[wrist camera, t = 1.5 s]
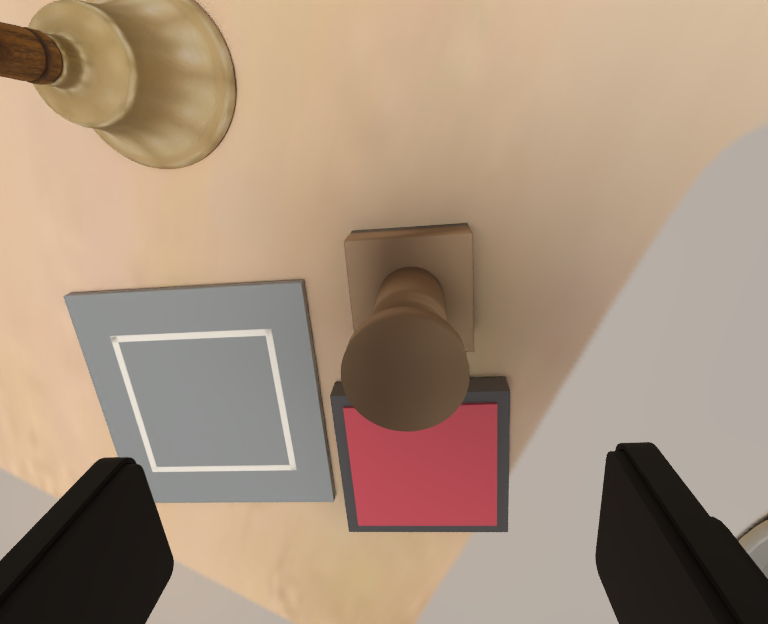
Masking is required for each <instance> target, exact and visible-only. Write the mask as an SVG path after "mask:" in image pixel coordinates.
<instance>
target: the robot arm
mask: <svg viewBox="0 0 768 624" xmlns="http://www.w3.org/2000/svg"><path fill="white" fill-rule="evenodd" d="M596 565H597V570H598V574H599V576H600V579H601V581H602V584H603V586H604V589H605V591H606V594H607V596H608V598H609V601H610V603H611V606H612V608H613V610H614V613H615V615H616V617H617V620H618V622H619V624H768V519H767V520H765V521H764V522H762V523H760V524H759V525H757V526H755V527H754V528H753V529H752V530H750V531H749V532H748V533H747V534H745V535H744V536H743V537H742V538H741V539H740V540H739V541H738V540H737V539H736V538H735V537H734V536H733V534H732V533H731V532H730V530H729V529H728V528H727V527H726V526H725V525H724V524H723V523H722V522H721V521H720V520H718V519H716V518H714V517H710V516H709V515H708V513H707V512H706V511H705V509H704V508H703V507H702V505H701V504H700V503H699V502H698V500H697V499H696V498H695V496H694V495H693V494H692V492H691V491H690V490H689V488H688V487H687V486H686V485H685V483H684V482H683V481H682V479H681V478H680V477H679V475H678V474H677V473H676V472H675V470H674V469H673V468H672V466H671V465H670V464H669V462H668V461H667V460H666V459H665V457H664V456H663V455H662V453H661V452H660V451H659V449H658V448H657V447H656V446H655V445H654V444H653V443H649V442H646V443H620V444H618V445H617V447H616V450H615V451H613V452H612V451H610V452H608V454H607V457H606V465H605V474H604V483H603V492H602V502H601V510H600V519H599V529H598V538H597V546H596ZM173 566H174V560H173V556H172V553H171V550H170V547H169V544H168V541H167V538H166V535H165V532H164V529H163V526H162V523H161V520H160V517H159V514H158V511H157V508H156V505H155V502H154V499H153V496H152V493H151V490H150V487H149V484H148V481H147V478H146V475H145V472H144V469H143V468H142V466H141V465H139V464H137V463H136V461H135V460H134V459H133V458H130V457H115V458H102V459H99V460H98V461H97V462H95V463H94V464H93V465H92V466H91V468H90V469H89V470H88V471H87V472H86V473H85V474H84V475H83V476H82V477H81V478H80V479H79V480H78V481H77V482H76V483H75V484H74V485H73V486H72V487H71V488H70V489H69V490H68V491H67V492H66V493H65V494H64V495H63V496H62V497H61V499H60V500H59V501H58V502H57V503H56V504H55V505H54V506H53V507H52V508H51V509H50V510H49V511H48V512H47V513H46V514H45V515H44V516H43V517H42V518H41V519H40V520H39V521H38V522H37V523H36V524H35V525H34V527H32V529H31V530H30V531H29V532H28V533H27V534H26V535H25V536H24V537H23V538H22V539H21V540H20V541H19V542H18V543H17V544H16V545H15V546H14V547H13V548H12V549H11V550H10V551H9V552H8V553H7V554H6V555H5V557H3V559H2V560H1V561H0V624H145V623H146V621H147V619H148V617H149V616H150V614H151V612H152V610H153V608H154V607H155V605H156V603H157V601H158V599H159V597H160V595H161V594H162V592H163V590H164V588H165V587H166V585H167V583H168V581H169V579H170V577H171V575H172V571H173Z"/></svg>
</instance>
